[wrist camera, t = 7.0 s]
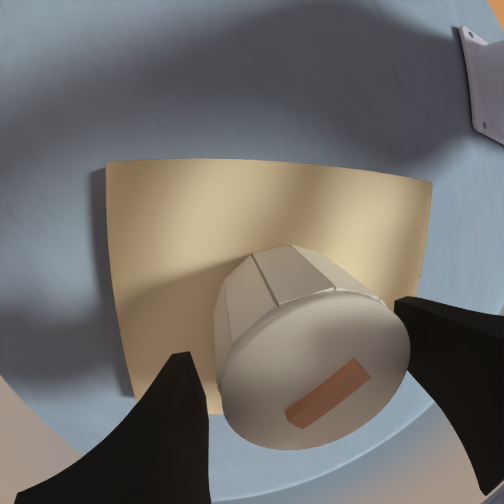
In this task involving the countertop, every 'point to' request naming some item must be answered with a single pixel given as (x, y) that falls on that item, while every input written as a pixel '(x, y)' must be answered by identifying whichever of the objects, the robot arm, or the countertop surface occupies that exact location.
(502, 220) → the countertop surface
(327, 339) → the cream short cylinder
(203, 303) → the post board
